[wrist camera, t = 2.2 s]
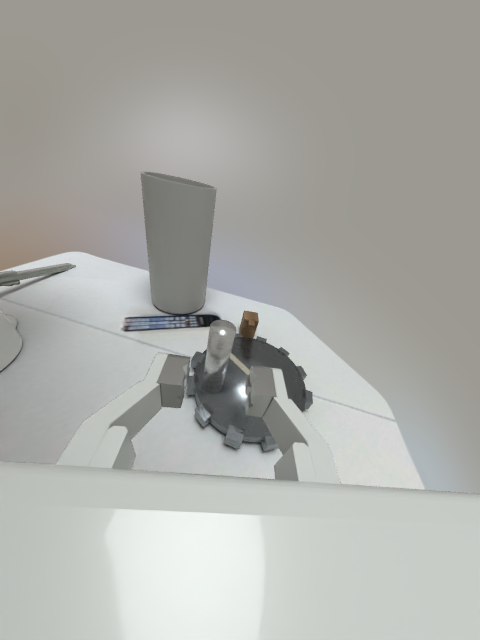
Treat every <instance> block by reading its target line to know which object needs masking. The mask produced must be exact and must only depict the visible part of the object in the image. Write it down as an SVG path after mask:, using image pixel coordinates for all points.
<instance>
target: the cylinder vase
mask: <svg viewBox="0 0 480 640" xmlns="http://www.w3.org/2000/svg"><path fill="white" fill-rule="evenodd" d="M141 182H142V194H143V204H144V215H145V228H146V239H147V250H148V261H149V273H150V284H151V296H152V302H153V303H154V305H155V306H156V307H157V308H159V309H160V310H162V311H164V312H167V313H171V314H189V313H193V312H195V311H197V310H199V309H200V308H201V307H202V306H203V305H204V302H205V295H206V285H207V275H208V266H209V256H210V246H211V237H212V227H213V218H214V209H215V198H216V188H215V187H213V186H210V185H207V184H204V183H200V182H196V181H192V180H188V179H183V178H179V177H175V176H170V175H165V174H159V173H153V172H145V171H141Z"/></svg>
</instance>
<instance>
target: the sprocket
mask: <svg viewBox="0 0 480 640" xmlns="http://www.w3.org/2000/svg"><path fill="white" fill-rule="evenodd" d="M266 340H267V339H264V338H261V337H258V336H257V338H256V339H252V338H245V337H243V336H242V334H236V327H235V326H234V324H232V323H231V322H229V321H226V320H216V321H214V322H212V323H211V325H210V330H209V338H208V345H207V349H206V350H205V351H204V352H203V353H200V352H196V353H195V355H194V356H193V358H192V360H191V367H193V368H195V373H194V376H189V377H188V382H187V395H194V394H195V398H196V401H197V404H198V406H199V407H197V408H196V409H195V417H196V418H197V420H198V421H199V422H200V424H201V425H202V426H203V427H205V426H206V425H207V424H208V423H209V422H210V423H211V424H212V425H213V426H214V427H216V428H217V429H218V430H220V431H221V432H223V433H224V434H226V437H225V441H224V444H227V445H229V446H232V447H234V448H237V449H239V448H240V446H241V444H242V441H247V442H261V444H262V447H263V450H264V451H268V450H272V449H276V448H278V445H277V443H276V442H275V440H274V438H273V436H272V435H271V433H270V431H269V429H268V427H267V426H266V424H265V422H264V420H263V419H262V418H263V417H256V416H248V415H246V405H245V402H246V399H247V395H246V394H245V385H246V379H247V376H248V375H249V374H250V368H251V366H252V365H254V366H262V367H270V368H276V369H281V370H282V373H283V377H284V382H285V386H286V391H287V396H288V399H291V400H292V401H293V402H294V403H295V405H296V406H297V407H298V408H299V409H300V411H301V412H303V410H304V408H306V409H308V408H309V407H310V406H311V405H312V403H313V399H312V392H310V391H308V390H306V389H305V384H304V381H303V380H304V379H305V377H306V376H307V375H306V373H305V372H304V370H303V368H302V367H301V366H295V364H294V363H293V362H292V361H291V360H290V359H289V358H288V355H289V353H288V352H287V351H286V350H285V349H283V348H282V347H281V348H279V349H277V348H275V347H274V346H272V345H270V344H268V343H266Z"/></svg>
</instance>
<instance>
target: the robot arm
mask: <svg viewBox="0 0 480 640" xmlns="http://www.w3.org/2000/svg"><path fill="white" fill-rule="evenodd" d="M16 326H17V320H16V319H15V318H14V317H13V316H12V315H4V314H3V312H2V311H1V310H0V371H1V370H2V369H3V368H5V367H6V366H7V365H8V364H9V363H10V362H11V361H12V360H13V359H14V358H15V357H16V356H17V355H18V353H19V352H20V350H21V347H22V338H21V336H20V335H19V334H18V332H17V331H16ZM189 364H190V357H186V356H180V355H173V354H167V353H160V352H158V353H157V354H156V356H155V358H154V360H153V362H152V364H151V366H150V368H149V370H148V372H147V375H146V377H145V379H144V381H143V382H142V381H139V382H138V383H137V384H135V385H134V386H132V387H131V388H129V389H128V390H127V391H125V392H124V393H122V394H121V395H120V396H118V397H117V398H115V399H114V400H113V401H111V402H110V403H108V404H107V405H106V406H104V407H103V408H101V409H100V410H98V411H97V412H96V413H94V414H93V415H91V416H90V417H89V418H87V419H86V420H84V421H83V422H82V424H81V425H80V427H79V429H78V430H77V432H76V433H75V435H74V436H73V438H72V439H71V441H70V442H69V444H68V445H67V447H66V449H65V450H64V452H63V453H62V455H61V456H60V458H59V459H58V461H57V462H56V464H41V463H26V462H12V461H0V640H480V494H479V493H463V492H449V491H434V490H420V489H406V488H391V487H377V486H362V485H347V484H341V481H340V478H339V475H338V472H337V469H336V466H335V463H334V460H333V456H332V453H331V450H330V447H329V444H328V443H327V442H326V441H325V440H324V438H323V437H322V436H321V435H320V434H319V432H318V431H317V430H316V429H315V428H314V426H313V425H312V424H311V423H310V422H309V420H308V419H307V418H306V417H305V415H304V414H303V413H302V412H301V411H300V409H299V408H298V407H297V406H296V405H295V403H294V402H293V401H292V400H291V399H288V396H287V391H286V386H285V382H284V377H283V373H282V370H281V369H276V368H270V367H262V366H254V365H252V366H251V368H250V374H249V375H248V376H247V379H246V385H245V394H246V395H247V399H246V402H245V405H246V415H248V416H256V417H263V418H262V419H263V420H264V422H265V424H266V426H267V427H268V429H269V431H270V433H271V435H272V436H273V438H274V440H275V442H276V443H277V445H278V447H279V449H280V451H281V452H282V454H283V456H282V457H281V458H280V460H279V461H278V462H277V463H276V464H275V465H274V472H275V480H274V479H260V478H245V477H231V476H216V475H201V474H187V473H172V472H158V471H143V470H131V468H132V466H133V463H134V460H135V457H136V454H135V451H134V448H133V445H132V442H131V439H132V438H133V437H134V436H135V435H136V434H137V433H138V432H139V431H140V430H141V429H142V428H143V427H144V426H145V425H146V424H147V423H148V422H149V421H150V420H151V419H152V418H153V417H154V416H155V415H156V414H157V413H158V411H159V410H160V409H161V408H162V407H171V408H181V405H182V401H183V398H184V389H185V387H186V386H187V382H188V377H189V371H190V368H189Z"/></svg>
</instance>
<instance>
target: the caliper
mask: <svg viewBox="0 0 480 640" xmlns="http://www.w3.org/2000/svg"><path fill="white" fill-rule="evenodd" d="M72 267H76V266H75V265H72V264H69V263H65V264H59V265H53V266H47V267H42V268H36V269H30V270H24V271H18V272H16V271H12V270H11V271H5V272H0V286H3V285H4V286H12V285H18V284H20V281H19V280H23V279H28V278H33V277H38V276H42V275H47V274H52V273H57V272H62V271H67V270H69V269H72Z"/></svg>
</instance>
